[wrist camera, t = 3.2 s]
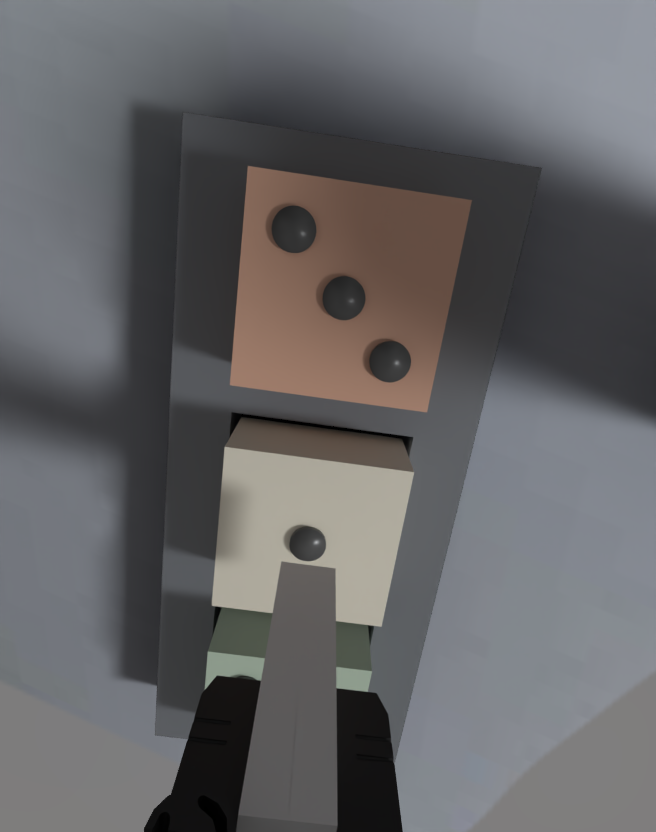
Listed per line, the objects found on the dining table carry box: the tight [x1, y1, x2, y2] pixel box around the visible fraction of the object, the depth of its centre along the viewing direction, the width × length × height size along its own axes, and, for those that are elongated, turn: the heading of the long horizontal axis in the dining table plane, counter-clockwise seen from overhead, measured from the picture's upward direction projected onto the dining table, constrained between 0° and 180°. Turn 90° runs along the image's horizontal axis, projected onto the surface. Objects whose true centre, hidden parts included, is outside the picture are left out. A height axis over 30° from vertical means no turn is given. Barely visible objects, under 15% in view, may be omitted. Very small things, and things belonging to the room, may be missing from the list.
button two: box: [205, 607, 372, 692], centre depth 20 cm, size 6×6×3 cm
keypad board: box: [155, 112, 542, 763], centre depth 20 cm, size 25×11×2 cm, turn 172°
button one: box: [212, 417, 414, 627], centre depth 18 cm, size 6×6×3 cm
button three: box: [230, 166, 472, 412], centre depth 16 cm, size 6×6×3 cm
